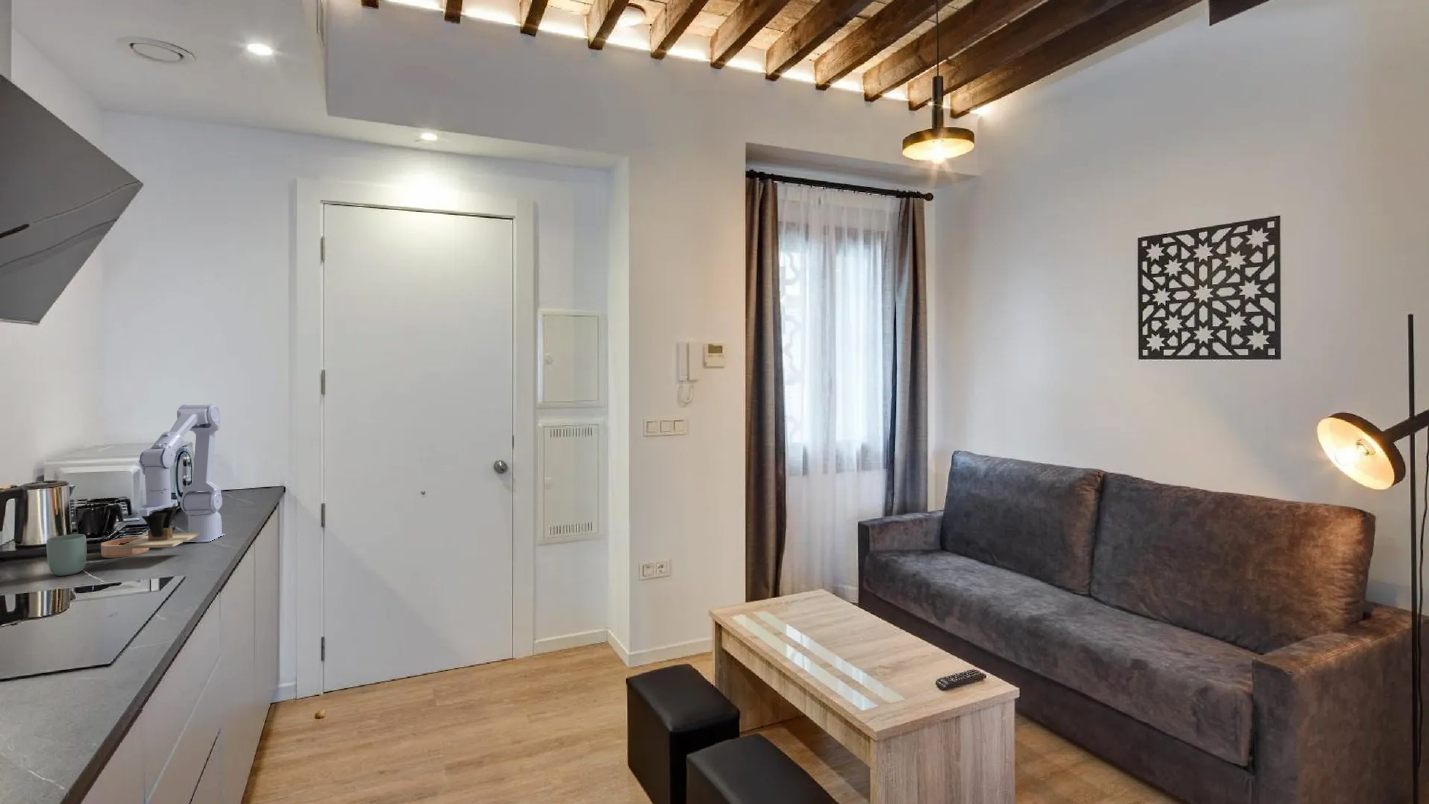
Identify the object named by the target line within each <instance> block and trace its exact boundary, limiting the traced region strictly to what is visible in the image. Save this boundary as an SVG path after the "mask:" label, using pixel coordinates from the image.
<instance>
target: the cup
mask: <svg viewBox="0 0 1429 804" xmlns="http://www.w3.org/2000/svg"><path fill="white" fill-rule="evenodd" d="M45 546H46V558H47V564H48V569H49V571H50V572H51V573H52V574H53V575H54V576H57V577H58V576H59V577H61V576H62V577H65V576H71V575H75V574H77V573H79V572H81V571H83V570H84V568H85V566H86V562H87V555H88V554H87V553H88V552H87V549H88V548H87V537H86V535H85V534H84V533H83V534H82V533H73V534H72V533H71V534H64V535H57V536H53V537H50V538H48V539H47V540H46V545H45Z"/></svg>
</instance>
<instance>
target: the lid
mask: <svg viewBox="0 0 1429 804" xmlns="http://www.w3.org/2000/svg"><path fill="white" fill-rule="evenodd" d="M196 536H199V533H189V532H185V533H183V532H182V533H181V532H180V533H173V527H170V528H163V533H162V536H161V537H153V536H152V534H151V531H150V529H148V530H147V535H145V536H141V537H142V538H139V539H137V540H134V541H131V542H129V543H126V544H124V545H121V546H119V549H133V548H149V549H152V548H153V549H154V548H158V549H159V548H174V547H176V546H178V545H179V544H184V543H183V542H185V541H187V540H190V539H192V538H194V537H196Z"/></svg>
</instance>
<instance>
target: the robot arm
mask: <svg viewBox="0 0 1429 804" xmlns="http://www.w3.org/2000/svg"><path fill="white" fill-rule="evenodd" d="M221 416H222V415H221V411H220V409H219V407H218V406H217V405H216V404H181V405H180V406H179V407H178V410H177V411H176V418H177V419H176V421H175V422H174V424H173V426H172V427H171V429H170V430H169V431H165V432H162V434H161V435H160V436H159V437H158V439H157V440H156V441H155V442H154V444H153V445H152V446H151V447H150V448H147V449H145V450H143V451H142V452H141V453H140V454H139V455H140V456H139V459H138V463H139V466H140V468H141V470H142V471H141V472H142V474H143V475H144V481H145V482H144V484H145V502H146V503H145V504H142V506H141V507H142V508H140V509H138V512H139V517H141V518H142V519H143V520H144V521H145V523H146V524H147V527H148V530H150V531H151V534H152V536H153V537H161V536H162V533H163V528H171V524H172V520H173V519H174V516H175V515H176V512H177V508H173V507H178V505H180V509H181V510H182V511H183V512H184V513H185V515H187V516H188V518H187V519H188V533H199V536H196V537H194V538H192V539H190V540H187V541H185V542H196V543H211V542H213V541H215V540H217V539H219V538H218V537H220V536H222V537H224V536H225V535H226V533H223V530H222V529H223V528H222V526H223V525H222V524H223V523H222V516H221V513H220V512H219V511H220V509H221V507H222V506H223V496H222V488H221V487H219V486H218V485H217V484H215V483H213V482H212V480H213V471H214V469H213V467H214V456H215V455H214V453H215V442H216V441H215V440H216V432H217V431H219V430H220V426H221ZM189 431H191V432H193V434H195V444H194V455H193V456H194V458H193V469H192V470H193V471H192V482H191V483H190V484H189V485H187V486H186V487H184V488H183V491H182V496H181V498H180V503H178V498H177V499H172V489H171V485H172V483H171V467H173V465H174V463H175V458H176V455H177V452H178V451H179V449H180V448H181V446H182V445H183V444H184V439H183V437H184V436H185V435H186V434H187V433H188V432H189ZM223 535H224V536H223ZM220 538H221V537H220ZM214 539H215V540H214ZM212 540H213V541H212ZM210 541H211V542H210Z"/></svg>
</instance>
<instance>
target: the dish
mask: <svg viewBox="0 0 1429 804" xmlns="http://www.w3.org/2000/svg"><path fill="white" fill-rule="evenodd" d="M142 537H143V536H130V537H121V538H117V539H115V538H114V539H112V540H107V541H104V542H101V543H100V554H101V558H106V559H111V558H112V559H113V558H114V559H116V558H118V559H119V558H125V557H126V558H127V557H132V556H137V555H138V556H139V555H142V554H145V553H147V552H149V551H150V548H133V549H119V546H121V545H119V544H120V543H126V542H131V541H134V540H137V539H139V538H142Z"/></svg>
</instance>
